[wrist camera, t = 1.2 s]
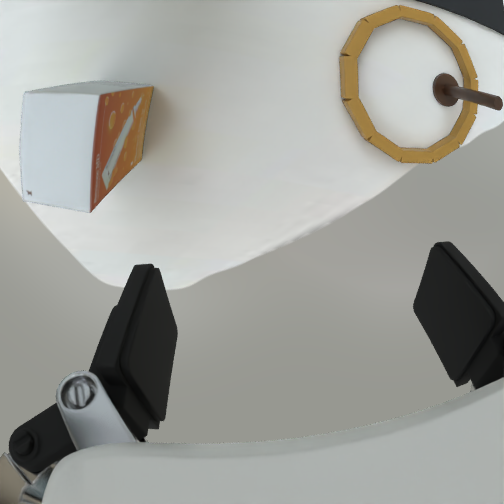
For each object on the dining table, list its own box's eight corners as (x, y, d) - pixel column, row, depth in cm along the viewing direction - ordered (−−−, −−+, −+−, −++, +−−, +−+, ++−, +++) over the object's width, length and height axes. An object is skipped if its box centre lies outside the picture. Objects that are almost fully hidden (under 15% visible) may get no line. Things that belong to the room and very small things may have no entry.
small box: (142, 160, 29) (91, 217, 18) (89, 152, 27) (20, 203, 17) (156, 84, 24) (100, 93, 13) (98, 79, 23) (20, 92, 12)
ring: (333, -3, 20) (338, -6, 19) (469, 29, 20) (476, 29, 19) (340, 159, 30) (345, 163, 28) (465, 162, 30) (471, 165, 28)
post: (432, 70, 24) (486, 78, 16) (457, 76, 24) (511, 88, 16) (432, 103, 26) (484, 120, 18) (457, 108, 26) (508, 126, 18)
